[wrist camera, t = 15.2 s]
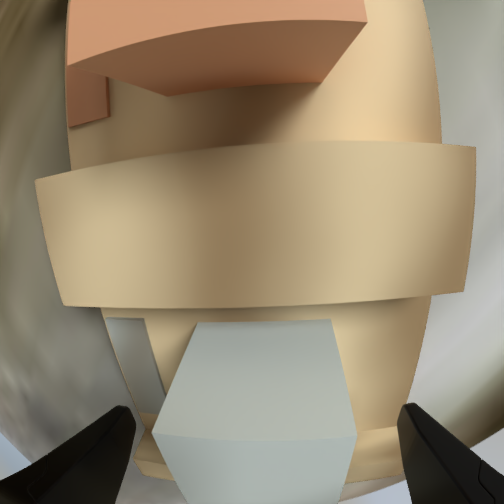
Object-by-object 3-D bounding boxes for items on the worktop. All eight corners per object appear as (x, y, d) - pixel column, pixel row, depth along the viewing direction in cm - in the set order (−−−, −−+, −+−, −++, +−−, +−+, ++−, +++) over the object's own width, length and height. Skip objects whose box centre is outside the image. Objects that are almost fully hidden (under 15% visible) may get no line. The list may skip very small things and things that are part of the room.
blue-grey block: (323, 409, 12) (334, 513, 7) (215, 410, 12) (191, 510, 8) (330, 318, 10) (357, 435, 6) (197, 322, 11) (151, 432, 6)
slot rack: (386, -76, 6) (407, -115, 3) (388, 429, 13) (400, 474, 11) (87, -41, 7) (49, -68, 4) (159, 432, 15) (143, 475, 12)
